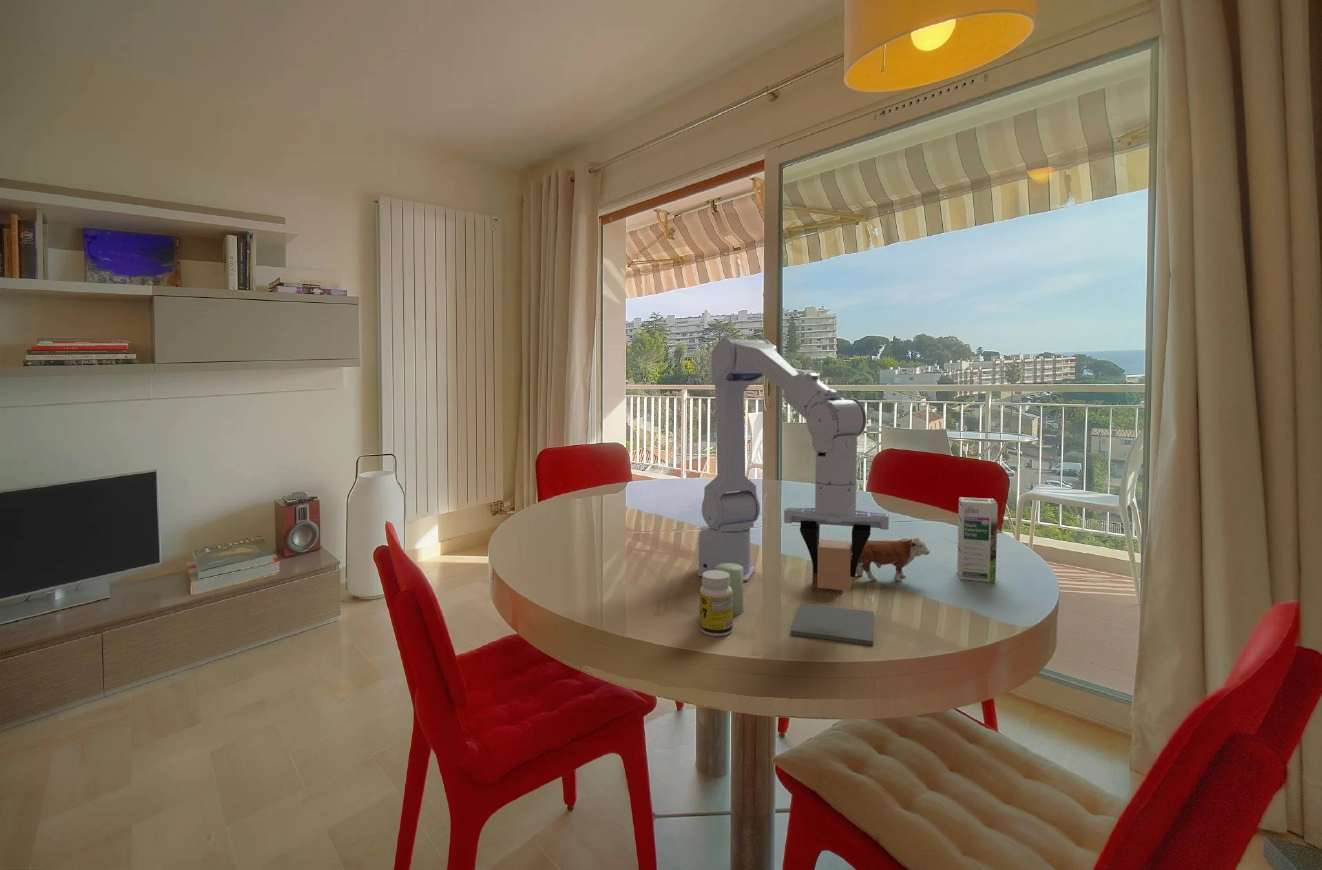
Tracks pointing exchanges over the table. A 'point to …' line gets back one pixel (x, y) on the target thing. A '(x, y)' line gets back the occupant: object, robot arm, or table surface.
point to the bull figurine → (890, 555)
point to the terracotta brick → (834, 564)
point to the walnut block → (815, 588)
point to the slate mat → (834, 624)
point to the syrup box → (977, 539)
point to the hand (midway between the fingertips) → (834, 573)
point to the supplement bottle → (716, 603)
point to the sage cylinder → (734, 585)
